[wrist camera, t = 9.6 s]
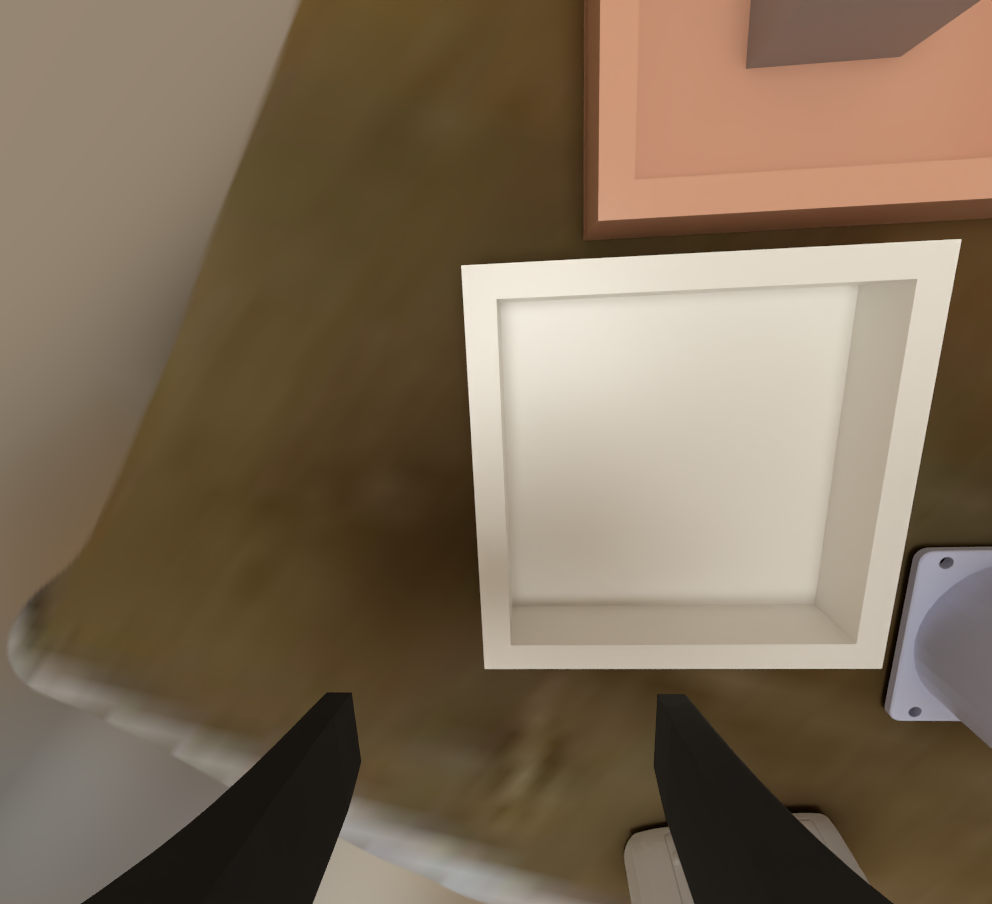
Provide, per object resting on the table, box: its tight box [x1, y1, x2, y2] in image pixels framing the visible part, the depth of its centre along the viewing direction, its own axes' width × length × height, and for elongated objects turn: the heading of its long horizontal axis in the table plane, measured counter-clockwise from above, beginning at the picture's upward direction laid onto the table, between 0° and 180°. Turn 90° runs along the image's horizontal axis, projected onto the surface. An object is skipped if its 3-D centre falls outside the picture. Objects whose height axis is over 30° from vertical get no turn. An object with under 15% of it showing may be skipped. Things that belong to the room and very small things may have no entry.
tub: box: [461, 239, 962, 669], centre depth 17 cm, size 14×14×4 cm
